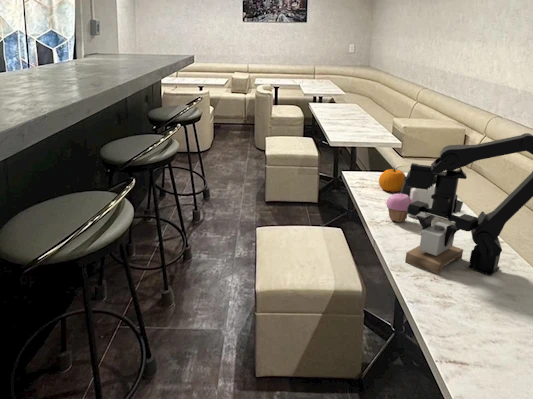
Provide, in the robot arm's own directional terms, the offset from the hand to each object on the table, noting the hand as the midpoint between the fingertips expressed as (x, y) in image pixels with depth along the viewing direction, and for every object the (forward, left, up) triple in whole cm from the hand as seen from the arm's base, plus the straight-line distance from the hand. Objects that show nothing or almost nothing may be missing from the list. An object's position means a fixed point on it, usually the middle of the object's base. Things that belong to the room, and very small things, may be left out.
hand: (436, 243), depth 135 cm
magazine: (+30, -45, -6) cm, 54 cm away
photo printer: (+22, -32, -6) cm, 39 cm away
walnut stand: (0, 0, -6) cm, 6 cm away
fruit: (+45, -51, -6) cm, 68 cm away
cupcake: (+24, -20, -6) cm, 32 cm away
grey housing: (0, 0, -2) cm, 2 cm away
